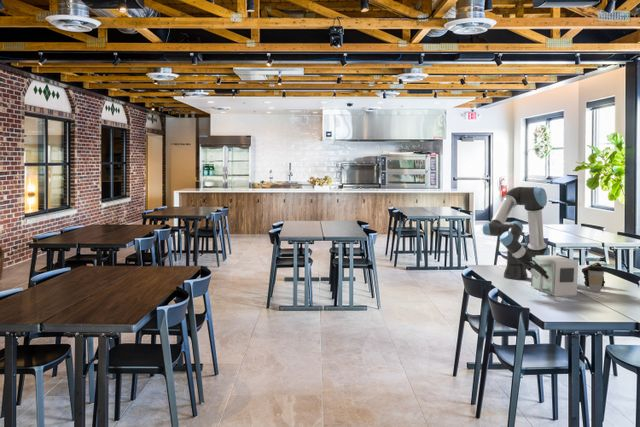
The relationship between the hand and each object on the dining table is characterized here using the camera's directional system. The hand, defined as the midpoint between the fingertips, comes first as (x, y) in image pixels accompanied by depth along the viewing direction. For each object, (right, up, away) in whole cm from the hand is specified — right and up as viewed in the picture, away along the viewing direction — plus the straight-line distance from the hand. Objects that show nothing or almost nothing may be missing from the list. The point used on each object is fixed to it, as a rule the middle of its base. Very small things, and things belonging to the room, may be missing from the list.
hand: (544, 279), depth 321 cm
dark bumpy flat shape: (+41, -8, +27) cm, 50 cm away
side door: (0, -7, +9) cm, 12 cm away
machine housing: (+11, -8, +10) cm, 17 cm away
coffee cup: (+35, -9, +12) cm, 38 cm away
